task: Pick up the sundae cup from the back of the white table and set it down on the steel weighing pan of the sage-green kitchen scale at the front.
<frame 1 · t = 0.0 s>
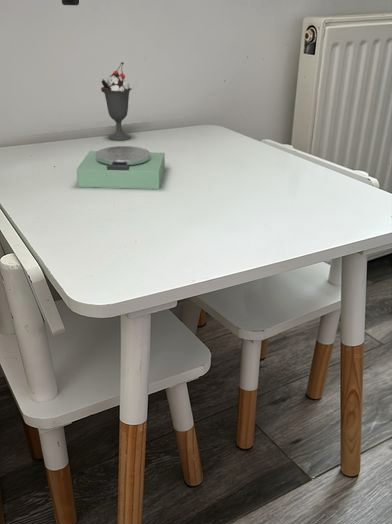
hand: (76, 3, 112), 25 cm above the table, tool pointing down, fingers open, 9 cm apart
scale pan: (123, 155, 99), point 4 cm above the table, slide at 0.0 cm
scale: (123, 177, 101), on the table
sundae: (119, 138, 125), on the table
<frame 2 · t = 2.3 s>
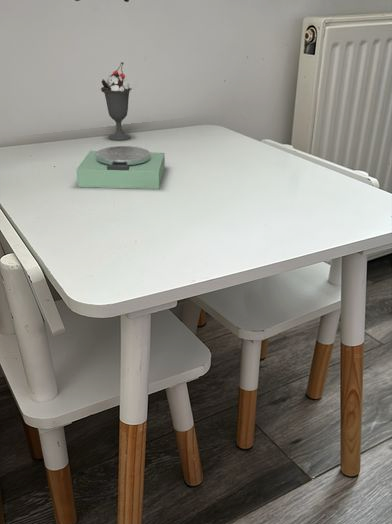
hand: (102, 1, 111), 26 cm above the table, tool pointing down, fingers open, 9 cm apart
nothing on the table moved.
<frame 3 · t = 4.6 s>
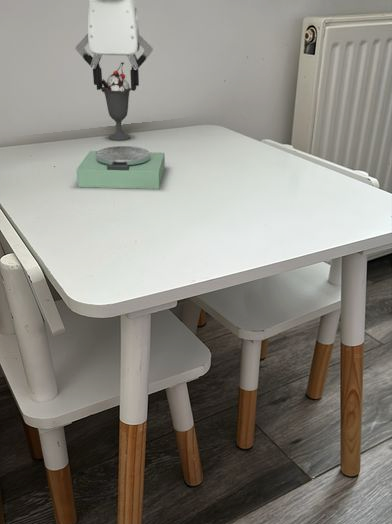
hand: (116, 88, 119), 10 cm above the table, tool pointing down, fingers closed on sundae, 6 cm apart
sundae: (119, 138, 125), on the table, touching gripper
everything else where it was.
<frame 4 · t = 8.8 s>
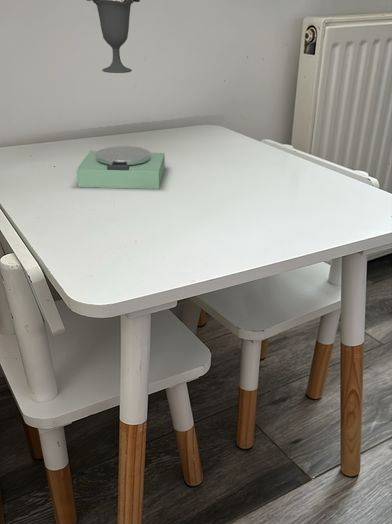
sundae: (117, 72, 93), point 17 cm above the table, touching gripper
everything else where it was.
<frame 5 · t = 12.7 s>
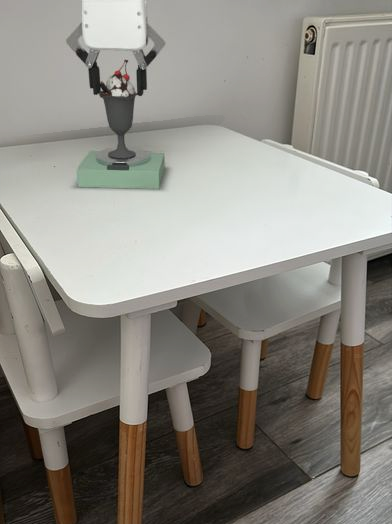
hand: (118, 93, 94), 14 cm above the table, tool pointing down, fingers closed on sundae, 6 cm apart
scale pan: (123, 156, 99), point 3 cm above the table, slide at -0.3 cm, touching sundae
sundae: (122, 155, 99), point 4 cm above the table, touching gripper, scale pan
when the fingers open (14 cm above the table, at t = 13.0 s): sundae stays where it is, resting on scale pan.
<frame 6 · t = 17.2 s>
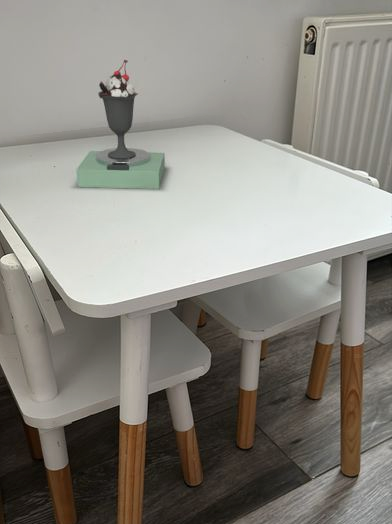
scale pan: (123, 157, 100), point 3 cm above the table, slide at -0.3 cm, touching scale, sundae
sundae: (122, 155, 99), point 4 cm above the table, touching scale pan
at the end: sundae 0.2 cm off-centre on the scale, point 3.6 cm above the scale's base; sundae touching scale pan; sundae tilted 0° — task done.
